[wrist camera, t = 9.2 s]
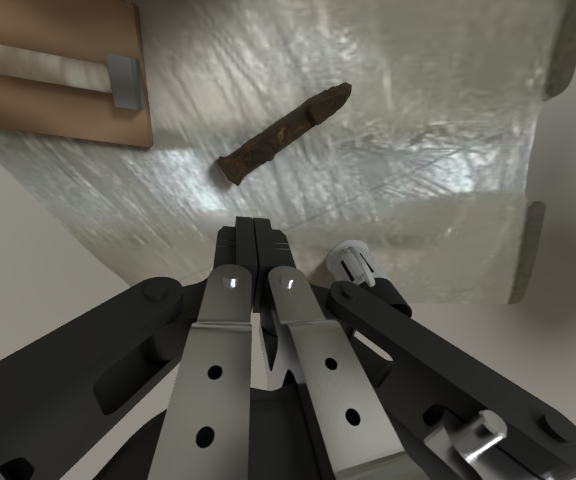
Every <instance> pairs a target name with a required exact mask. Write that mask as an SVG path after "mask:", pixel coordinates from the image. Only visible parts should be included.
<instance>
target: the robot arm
mask: <svg viewBox="0 0 576 480" xmlns="http://www.w3.org/2000/svg"><path fill="white" fill-rule="evenodd" d="M252 308H253V313H260V325H259V334H260V340H261V346H262V351H263V357H264V363H265V368H266V374H267V384H268V387H267V391H266V390H260V389H255V388H250V378H251V343H252V325H250V316H251V310H252ZM356 330H357V331H358V332H360V333H361V334H362V335H364V336H365V337H366V338H368V339H369V340H370V341H372V342H373V343H374V344H376V345H377V346H378V347H380V348H381V349H383V350H384V351H385V352H387V353H388V354H389V355H390V356H391V357H392V359H393V361H388V360H385V359H384V358H382V357H381V356H379V355H378V354H377V353H376V352H374V351H373V350H372V349H370V348H369V347H368V346H366V345H365V344H363V343H362V342H361V341H360V340H358V339H357V338H356V337H354V334H355V332H356ZM180 361H181V362H180ZM179 362H180V366H179V369H178V373H177V377H176V380H175V383H174V387H173V391H172V394H171V398H170V401H169V405H168V408H167V409H166V410H165V411H163V412H161V413H160V414H158V415H157V416H155V417H154V418H152V419H151V420H150V421H148V422H147V423H146V424H145V425H143V426H142V427H141V428H140V429H139V430H138V431H137V432H136V433H135V434H133V435H132V436H131V437H130V438H129V440H128V441H127V442H126V443H125V444H124V445H123V446H122V447H121V448H120V449H119V450H118V452H117V453H116V454H115V455H114V456H113V457H112V458H111V459H110V460H109V462H108V463H107V464H106V465H105V466H104V467H103V469H101V471H100V472H99V473H98V474H97V475H96V476H95V477H94V478H93V479H92V480H571V479H573V478H576V426H575V425H574V424H573V423H572V422H571V421H570V420H568V419H567V418H566V417H565V416H564V415H562V414H561V413H560V412H558V411H557V410H556V409H554V408H553V407H551V406H549V405H548V404H546V403H544V402H543V401H541V400H540V399H538V398H537V397H535V396H533V395H532V394H530V393H529V392H527V391H526V390H524V389H522V388H521V387H519V386H518V385H516V384H514V383H513V382H511V381H510V380H508V379H507V378H505V377H503V376H502V375H500V374H499V373H497V372H495V371H494V370H492V369H491V368H489V367H487V366H486V365H484V364H483V363H481V362H479V361H478V360H476V359H475V358H473V357H471V356H470V355H468V354H467V353H465V352H463V351H462V350H460V349H459V348H457V347H455V346H454V345H452V344H451V343H449V342H448V341H446V340H444V339H443V338H441V337H440V336H438V335H437V334H435V333H433V332H432V331H430V330H428V329H427V328H425V327H424V326H422V325H420V324H419V323H417V322H416V321H414V320H413V319H411V318H410V317H408V316H406V315H405V314H403V313H402V312H400V311H398V310H397V309H395V308H394V307H392V306H390V305H389V304H387V303H386V302H384V301H382V300H381V299H379V298H378V297H376V296H375V295H373V294H371V293H370V292H368V291H367V290H365V289H363V288H362V287H360V286H359V285H357V284H355V283H352V282H349V281H336V282H334V283H333V284H332V285H331V287H330V289H327V288H323V287H319V286H316V285H313V284H310V283H309V282H308V280H307V278H306V276H305V275H304V274H303V273H302V272H301V271H299V270H298V269H296V266H295V263H294V260H293V257H292V254H291V250H290V247H289V244H288V241H287V238H286V236H285V235H284V234H283V233H282V232H281V231H280V230H273V229H272V228H271V224H270V220H269V219H265V218H253V219H252V218H251V217H238V216H236V224H235V227H228V226H223V227H222V228H221V229H220V230H219V231H218V235H217V243H216V251H215V259H214V267H213V270H212V271H211V273H210V274H209V277H208V278H207V279H205V280H204V281H202V282H199V283H197V284H193V285H188V286H184V287H182V285H181V284H180V283H179V282H178V281H177V280H175V279H172V278H169V277H154V278H150V279H147V280H144V281H142V282H140V283H138V284H136V285H134V286H133V287H131V288H129V289H127V290H126V291H124V292H122V293H120V294H118V295H116V296H115V297H113V298H111V299H109V300H108V301H106V302H104V303H102V304H101V305H99V306H97V307H95V308H93V309H91V310H90V311H88V312H86V313H84V314H83V315H81V316H79V317H77V318H75V319H74V320H72V321H70V322H68V323H67V324H65V325H63V326H61V327H59V328H57V329H56V330H54V331H52V332H50V333H49V334H47V335H45V336H43V337H41V338H40V339H38V340H36V341H34V342H33V343H31V344H29V345H27V346H25V347H24V348H22V349H20V350H18V351H16V352H15V353H13V354H11V355H9V356H8V357H6V358H4V359H2V360H0V480H59V479H60V478H61V477H62V476H63V475H64V474H65V473H66V472H67V471H68V470H70V469H71V467H73V466H74V465H75V464H76V463H77V462H78V461H79V460H80V459H81V458H82V457H83V456H84V455H85V454H86V453H87V452H88V451H89V450H90V449H91V448H92V447H93V446H94V445H95V444H96V443H97V442H98V441H99V440H100V439H101V438H102V437H103V436H104V435H106V434H107V432H109V431H110V430H111V429H112V428H113V426H115V425H116V424H117V423H118V422H119V421H120V420H121V419H122V418H123V417H124V416H125V415H126V414H127V413H128V412H129V411H130V410H131V409H132V408H133V407H134V406H135V405H136V404H137V403H138V402H139V401H140V400H141V399H142V398H143V397H145V396H146V395H147V394H148V393H149V392H150V391H151V390H152V389H153V388H154V387H155V386H156V385H157V384H158V383H159V382H160V381H161V380H162V379H163V378H164V377H165V376H166V375H167V374H168V373H169V372H170V371H171V370H172V369H173V368H174V367H175V366H176V365H177V364H178V363H179Z"/></svg>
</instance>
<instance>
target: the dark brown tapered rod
mask: <svg viewBox="0 0 576 480" xmlns="http://www.w3.org/2000/svg"><path fill="white" fill-rule="evenodd" d="M351 88H352V85H350V84H348V83H347V82H345V83H342V84H340V85H338V86H335V87H334V86H333V87H331V88H329V89H328V90H325V91H323V92H321V93H320V94H318V95H315V96H313V97H312V98H309V99H308V100H307V101H306V102H305V103H304V104H302V105H301V106H300V107H298V108H297V109H295V110H294V111H292V112H291V113H289V114H288V115H286V116H285V117H283V118H282V119H280V120H279V121H277V122H276V123H274V124H273V125H272V126H270V127H269V128H268V129H266V130H265V131H263V132H262V133H260V134H258V135H257V136H255V137H253V138H252V139H250V140H249V141H248V142H247V143H246V144H244V145H243V146H242V147H241V148H239V149H238V150H236V151H235V152H234V153H232V154H230V155H229V156H226V157H219V160H218V161H219V165H220V167H221V169H222V170H223V172H224V173H225V174H226V176H227V178H228V179H229V180H230V181H232V182H233V183H234V184H236V185H237V186H239V185H240V183H241V181H242V180H243V178H244V177H245V176H246V175H247V174H248V173H250V172H251V171H253V170H254V169H255V168H257V167H258V166H259V165H262V164H264V163H266V162H267V161H271V160H272V159H273V158H274V156H275V154H276V153H277V152H279V151H280V150H282V149H283V148H285V147H286V146H287V145H289V144H290V143H291V142H293V141H294V140H296V139H297V138H298V137H300V136H301V135H302V134H304V133H305V132H306V131H308V130H309V129H311V128H312V127H314V126H315V125H319V124H321V123H322V122H323V121H325V120H326V119H327V118H328V117H330V116H332V115H333V114H334V113H335V112H336V111H337V110H339V109H340V108H341V107H342V106H343V105H344V104H345V102H346V101H347V99H348V97H349V96H350V94H351Z"/></svg>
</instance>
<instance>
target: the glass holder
mask: <svg viewBox="0 0 576 480" xmlns="http://www.w3.org/2000/svg"><path fill="white" fill-rule="evenodd" d="M326 266H327V269H328V270H329V271H330V272H331V273H332V274H333V275H334V277H335V279H336V281H349V282H352V283H355V284H357V285H359V286H360V287H362V288H363V289H365V290H367V291H368V292H370V293H371V294H373V295H375V296H376V297H378V298H379V299H381V300H382V301H384V302H386V303H387V304H389V305H390V306H392V307H394V308H395V309H397V310H398V311H400V312H402V313H403V314H405V315H406V316H408V317H410V318H411V316H412V310H411V308H410V307H409V305H408V304H407V303H406V301H405V300H404V299H403V297H402V296H401V295H400V294H399V292H398V291H397V290H396V287H395V285H394V284H393V283H392V281H391V280H390V279H389V278H388V276H387V275H386V274H385V272H384V271H383V270H382V269H381V267H380V266H379V265H378V263H377V262H376V261H375V260H374V258H373V257H372V256H371V254H370V253H369V249H368V247H367V245H366V244H365V243H364V242H362V241H359V240H347V241H344V242H341V243H339V244H338V245H336V246H335V247H334V248H333V249H332V250H331V251H330V252H329V254H328V256H327V259H326Z"/></svg>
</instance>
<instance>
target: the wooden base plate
mask: <svg viewBox="0 0 576 480" xmlns="http://www.w3.org/2000/svg"><path fill="white" fill-rule="evenodd" d="M0 128H1V129H9V130H17V131H25V132H32V133H40V134H48V135H56V136H64V137H72V138H80V139H87V140H95V141H103V142H111V143H119V144H127V145H135V146H142V147H151V146H152V145H153V138H152V129H151V120H150V111H149V102H148V93H147V84H146V76H145V67H144V58H143V49H142V40H141V31H140V22H139V13H138V8H137V7H136V6H135V5H134V4H132V3H128V2H124V1H120V0H0Z"/></svg>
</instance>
